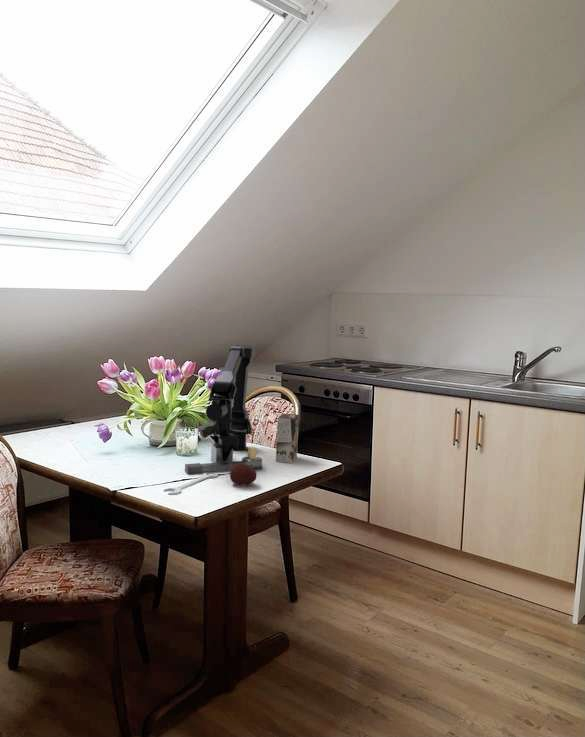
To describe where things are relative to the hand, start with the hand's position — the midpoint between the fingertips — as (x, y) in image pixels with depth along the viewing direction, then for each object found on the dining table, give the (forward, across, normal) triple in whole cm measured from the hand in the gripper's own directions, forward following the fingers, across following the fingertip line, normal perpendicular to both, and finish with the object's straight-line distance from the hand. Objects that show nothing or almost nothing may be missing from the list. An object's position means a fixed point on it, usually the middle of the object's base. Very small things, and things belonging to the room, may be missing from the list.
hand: (221, 458), depth 230 cm
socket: (+1, 0, 0) cm, 1 cm away
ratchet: (+1, +9, -2) cm, 9 cm away
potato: (+2, +26, -1) cm, 26 cm away
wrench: (+2, +21, -16) cm, 26 cm away
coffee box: (+2, +2, +24) cm, 24 cm away
